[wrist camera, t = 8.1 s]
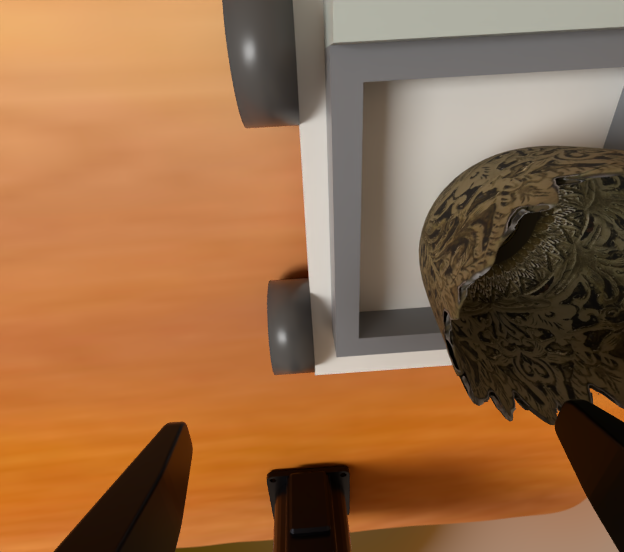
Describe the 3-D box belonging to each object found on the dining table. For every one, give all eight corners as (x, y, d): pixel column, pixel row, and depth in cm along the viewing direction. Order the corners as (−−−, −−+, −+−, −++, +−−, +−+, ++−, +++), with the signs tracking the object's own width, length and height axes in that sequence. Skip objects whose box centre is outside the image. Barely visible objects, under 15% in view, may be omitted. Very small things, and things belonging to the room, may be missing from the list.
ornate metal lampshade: (379, 127, 14) (472, 186, 7) (575, 100, 13) (881, 132, 6) (383, 293, 17) (446, 444, 10) (537, 273, 17) (706, 411, 10)
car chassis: (567, 321, 23) (650, 396, 17) (279, 341, 22) (276, 424, 17) (710, -63, 14) (969, -146, 8) (233, -38, 13) (197, -109, 8)
